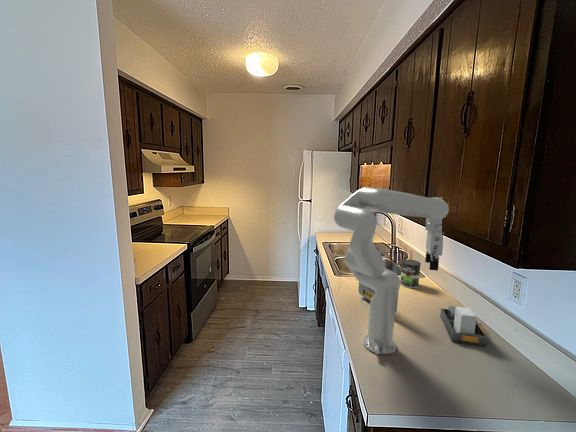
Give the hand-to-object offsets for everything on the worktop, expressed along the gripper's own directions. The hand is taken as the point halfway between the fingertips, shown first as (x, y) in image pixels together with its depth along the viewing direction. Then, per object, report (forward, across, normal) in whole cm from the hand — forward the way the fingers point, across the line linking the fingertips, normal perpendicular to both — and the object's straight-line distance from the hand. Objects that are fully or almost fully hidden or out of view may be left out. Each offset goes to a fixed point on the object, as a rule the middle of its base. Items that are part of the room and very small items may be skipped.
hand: (431, 266), depth 129 cm
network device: (+28, +14, +21) cm, 38 cm away
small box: (+28, -4, -14) cm, 31 cm away
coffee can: (+28, +48, +1) cm, 56 cm away
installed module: (+28, +7, -15) cm, 33 cm away
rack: (+28, +2, -15) cm, 32 cm away
